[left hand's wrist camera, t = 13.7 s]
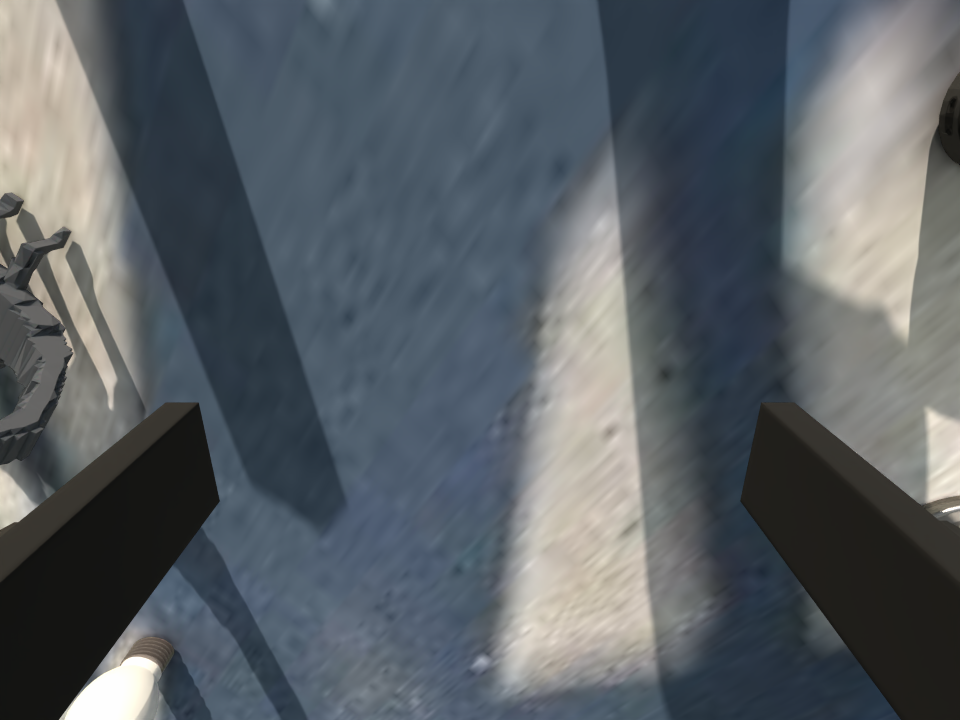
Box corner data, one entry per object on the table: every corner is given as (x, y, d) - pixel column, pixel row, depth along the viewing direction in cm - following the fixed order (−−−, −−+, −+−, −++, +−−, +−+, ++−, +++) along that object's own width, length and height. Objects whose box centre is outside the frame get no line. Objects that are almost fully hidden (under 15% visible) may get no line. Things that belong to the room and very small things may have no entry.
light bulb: (162, 617, 52) (85, 731, 42) (201, 663, 55) (137, 782, 44) (105, 637, 53) (16, 753, 43) (146, 682, 56) (70, 802, 45)
